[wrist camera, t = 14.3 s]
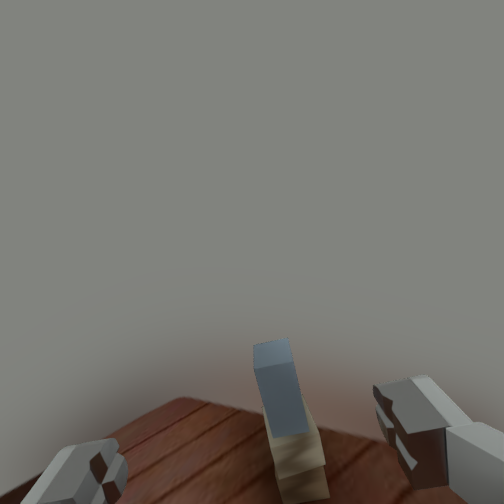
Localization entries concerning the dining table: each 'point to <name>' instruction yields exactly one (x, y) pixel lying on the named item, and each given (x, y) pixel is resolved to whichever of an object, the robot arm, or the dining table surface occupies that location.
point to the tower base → (303, 486)
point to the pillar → (279, 388)
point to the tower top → (296, 448)
